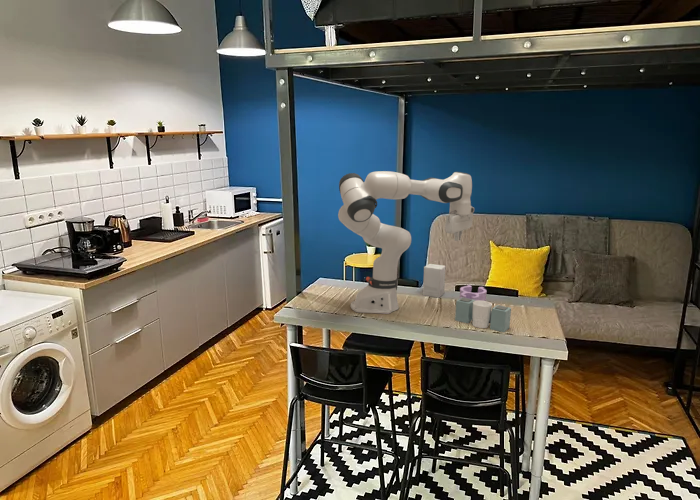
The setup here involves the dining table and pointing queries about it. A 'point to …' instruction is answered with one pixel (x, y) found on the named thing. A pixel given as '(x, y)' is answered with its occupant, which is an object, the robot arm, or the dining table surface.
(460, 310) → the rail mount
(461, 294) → the clip
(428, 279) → the supplement box
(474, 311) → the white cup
